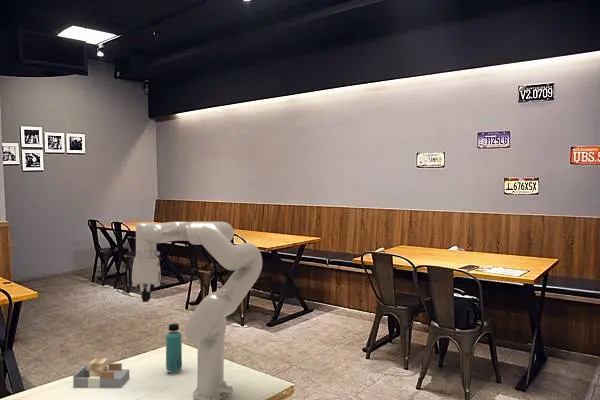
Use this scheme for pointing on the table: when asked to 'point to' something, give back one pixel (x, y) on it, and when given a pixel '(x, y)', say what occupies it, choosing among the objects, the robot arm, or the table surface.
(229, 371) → the table surface
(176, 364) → the beverage bottle
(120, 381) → the grey open boxy piece
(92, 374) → the maple block
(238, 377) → the table surface
